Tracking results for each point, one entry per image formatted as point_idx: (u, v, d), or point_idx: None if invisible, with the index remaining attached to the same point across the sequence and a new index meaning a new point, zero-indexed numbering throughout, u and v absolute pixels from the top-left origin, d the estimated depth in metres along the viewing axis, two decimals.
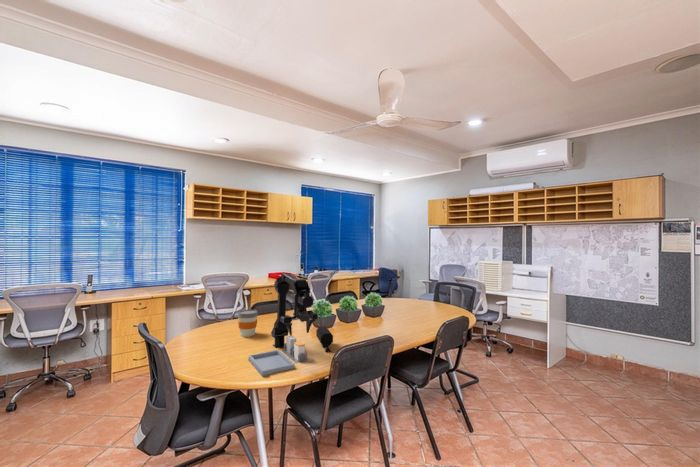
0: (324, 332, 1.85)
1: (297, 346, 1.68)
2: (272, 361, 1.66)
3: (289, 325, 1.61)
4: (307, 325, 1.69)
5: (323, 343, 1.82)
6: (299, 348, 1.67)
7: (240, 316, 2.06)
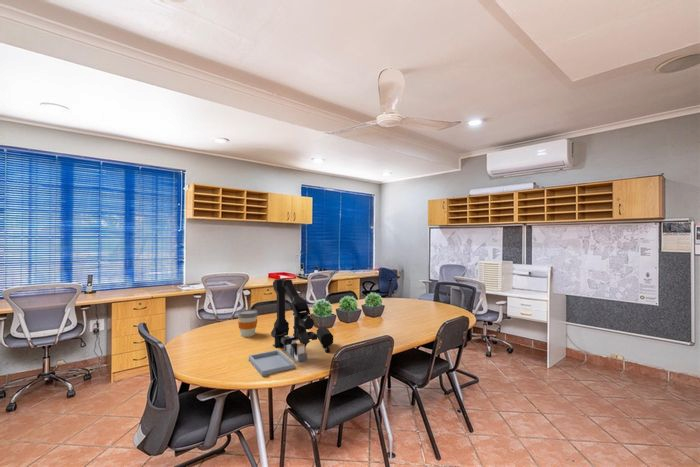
0: (324, 332, 1.84)
1: (297, 346, 1.68)
2: (272, 361, 1.66)
3: (294, 345, 1.67)
4: None
5: (323, 343, 1.82)
6: (299, 348, 1.67)
7: (240, 316, 2.06)
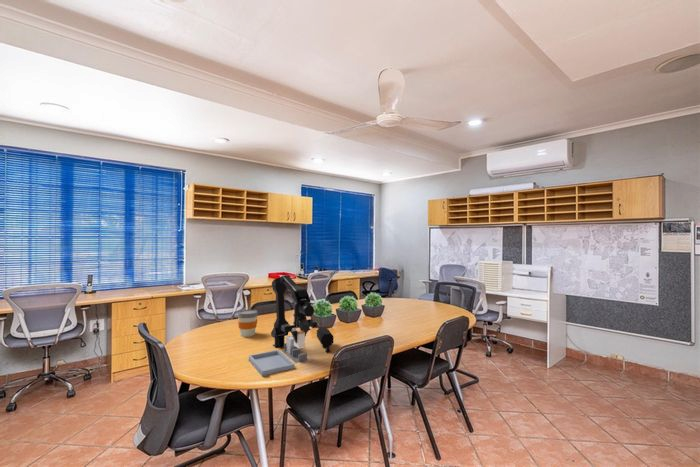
0: (324, 333, 1.84)
1: (297, 334, 1.68)
2: (272, 361, 1.66)
3: (294, 333, 1.67)
4: None
5: (323, 344, 1.81)
6: (299, 335, 1.67)
7: (240, 316, 2.06)
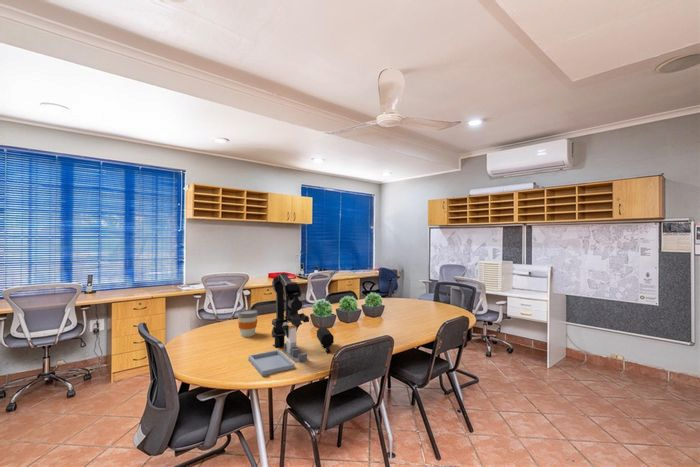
0: (325, 333, 1.83)
1: (289, 328, 1.66)
2: (272, 361, 1.66)
3: (286, 327, 1.64)
4: None
5: (324, 344, 1.81)
6: (290, 330, 1.65)
7: (240, 316, 2.06)
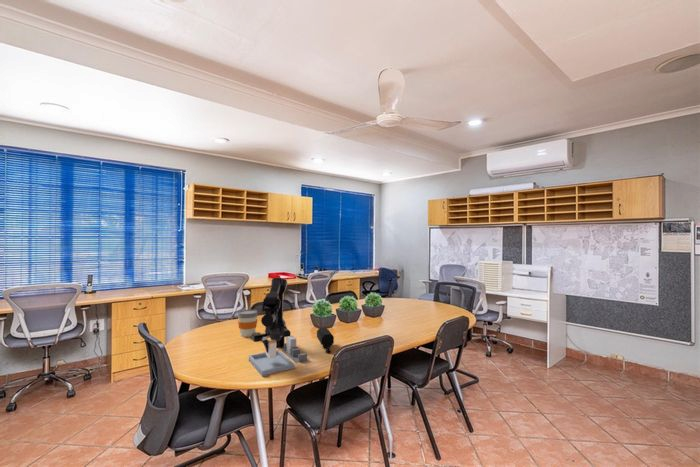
0: (325, 333, 1.83)
1: (268, 343, 1.61)
2: (272, 361, 1.66)
3: (265, 342, 1.60)
4: None
5: (324, 344, 1.80)
6: (270, 345, 1.60)
7: (240, 316, 2.06)
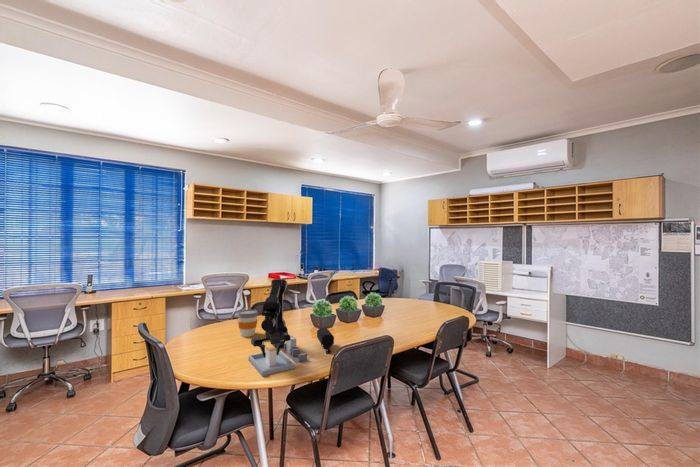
0: (325, 333, 1.83)
1: (268, 351, 1.61)
2: None
3: (262, 347, 1.59)
4: (277, 347, 1.65)
5: (324, 344, 1.80)
6: (270, 352, 1.60)
7: (240, 316, 2.06)
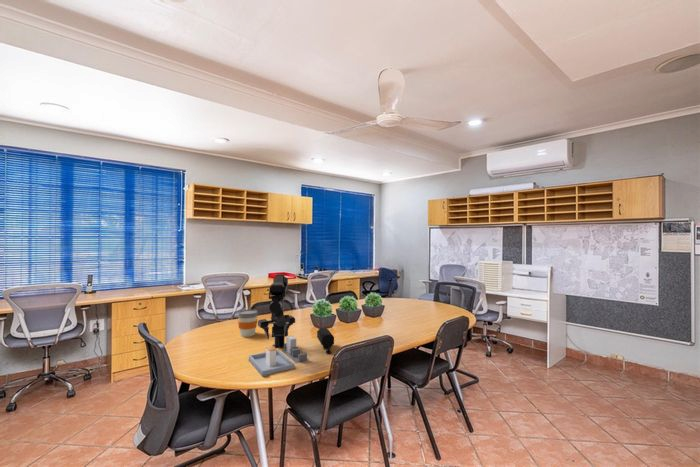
0: (325, 333, 1.82)
1: (268, 351, 1.61)
2: None
3: (266, 329, 1.65)
4: (285, 328, 1.73)
5: (324, 345, 1.80)
6: (270, 352, 1.60)
7: (240, 316, 2.06)
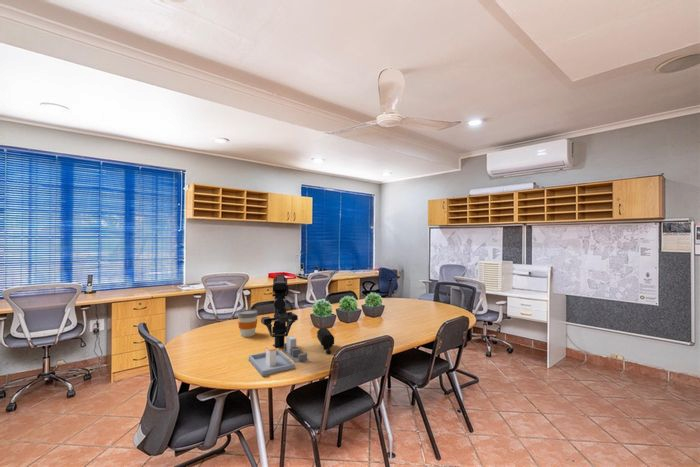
0: (325, 334, 1.82)
1: (268, 351, 1.61)
2: None
3: (269, 326, 1.68)
4: (287, 326, 1.76)
5: (324, 345, 1.79)
6: (270, 352, 1.60)
7: (240, 316, 2.06)
